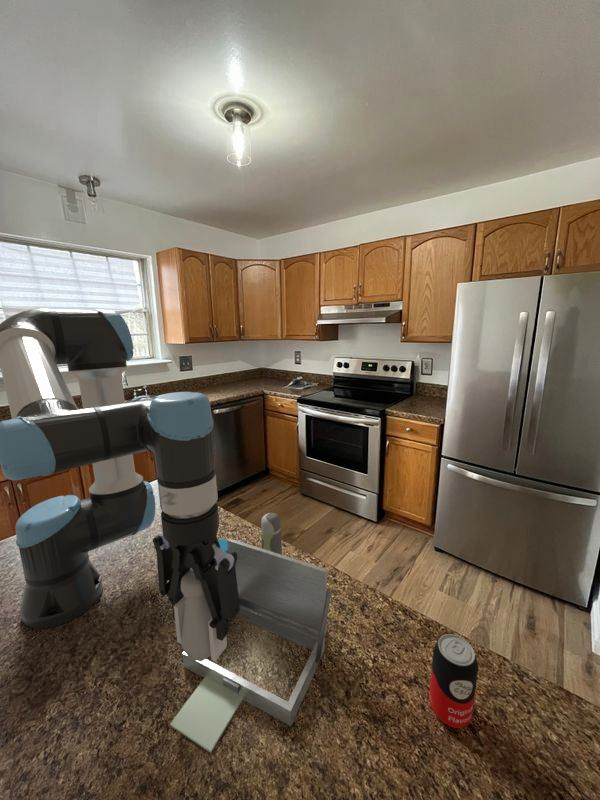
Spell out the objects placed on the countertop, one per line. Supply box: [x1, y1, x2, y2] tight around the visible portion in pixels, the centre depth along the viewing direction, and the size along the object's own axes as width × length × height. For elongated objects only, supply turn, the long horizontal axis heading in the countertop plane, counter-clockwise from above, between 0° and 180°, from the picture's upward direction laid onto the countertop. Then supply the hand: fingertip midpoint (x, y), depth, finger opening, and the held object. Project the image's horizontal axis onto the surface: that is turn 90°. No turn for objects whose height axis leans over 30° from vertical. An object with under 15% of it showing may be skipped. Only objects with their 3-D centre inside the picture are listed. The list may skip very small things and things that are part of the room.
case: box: [182, 538, 332, 727], centre depth 61 cm, size 23×16×17 cm
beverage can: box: [428, 633, 479, 729], centre depth 53 cm, size 6×6×12 cm
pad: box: [169, 677, 244, 754], centre depth 54 cm, size 8×8×1 cm
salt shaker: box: [181, 569, 212, 661], centre depth 50 cm, size 6×6×13 cm
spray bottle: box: [260, 512, 283, 555], centre depth 76 cm, size 5×5×20 cm
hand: (201, 643), depth 52 cm, fingers closed on salt shaker, 6 cm apart
